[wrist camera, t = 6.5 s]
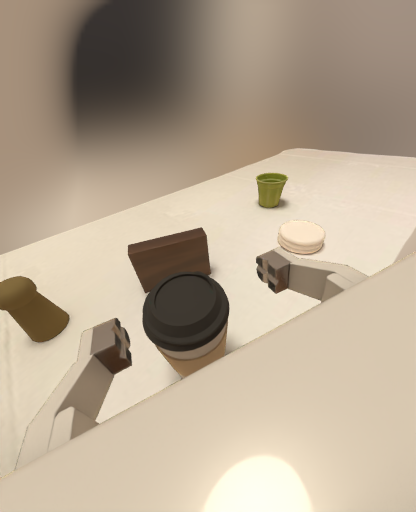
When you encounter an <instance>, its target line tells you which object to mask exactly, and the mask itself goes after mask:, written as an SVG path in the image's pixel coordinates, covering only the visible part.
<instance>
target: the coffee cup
mask: <svg viewBox="0 0 416 512" xmlns="http://www.w3.org/2000/svg"><path fill="white" fill-rule="evenodd" d="M228 316H229V302H228V298H227V296H226V294H225V292H224V290H223V288H222V287H221V286H220V285H219V284H218V283H217V282H216V281H215V280H214V279H212V278H210V277H209V276H207V275H206V274H204V273H203V272H199V271H196V272H179V273H175V274H172V275H169V276H167V277H165V278H164V279H162V280H161V281H160V282H159V283H158V284H157V285H156V286H155V287H154V288H153V289H152V290H151V291H150V293H149V294H148V296H147V297H146V300H145V302H144V306H143V327H144V330H145V333H146V335H147V336H148V338H149V339H150V340H151V341H152V342H153V343H154V344H155V346H156V347H157V349H158V350H159V351H160V352H161V354H162V355H163V356H164V357H165V358H166V360H167V361H168V362H169V363H170V365H171V366H172V367H173V368H174V369H175V370H176V371H177V372H178V373H179V374H180V376H181V377H182V378H185V377H187V376H189V375H191V374H192V373H194V372H196V371H198V370H200V369H202V368H203V367H205V366H207V365H209V364H211V363H213V362H214V361H216V360H218V359H220V358H222V357H224V353H225V346H226V336H227V326H228Z"/></svg>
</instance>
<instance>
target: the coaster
mask: <svg viewBox="0 0 416 512" xmlns="http://www.w3.org/2000/svg"><path fill="white" fill-rule="evenodd" d="M324 239H325V231H324V230H323V229H322V228H321V227H320V226H319V225H317V224H315V223H312V222H309V221H303V220H293V221H288V222H286V223H284V224H282V225H281V227H280V228H279V233H278V242H279V244H280V245H281V246H282V247H283V248H285V249H287V250H289V251H291V252H294V253H300V254H309V253H314V252H316V251H318V250H319V249H320V248H321V247H322V245H323V242H324Z"/></svg>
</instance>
